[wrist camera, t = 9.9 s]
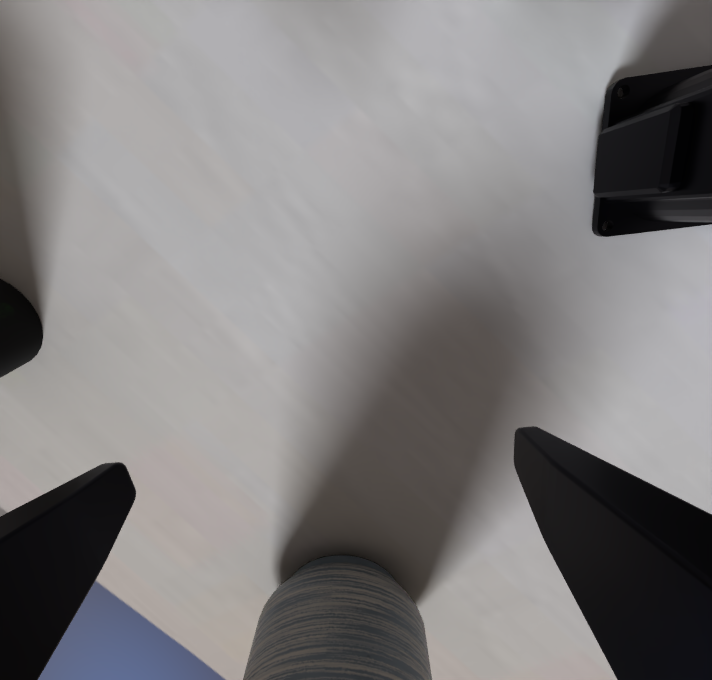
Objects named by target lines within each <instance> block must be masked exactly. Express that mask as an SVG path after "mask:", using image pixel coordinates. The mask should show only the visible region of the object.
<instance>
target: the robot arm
mask: <svg viewBox="0 0 712 680" xmlns="http://www.w3.org/2000/svg"><path fill="white" fill-rule="evenodd" d="M619 88H621V89H622V90H623V97H622V98H619V97H618V94H617V92H618V89H619ZM593 193H594V194H595V204H594V214H593V223H592V231H593V233H594V234H595V235H597V236H604V237H609V236H617V235H625V234H634V233H642V232H651V231H659V230H667V229H676V228H684V227H692V226H701V225H709V224H712V65H710V66H703V67H696V68H689V69H683V70H676V71H669V72H662V73H655V74H648V75H642V76H635V77H628V78H624V79H621V80H619V81H617V82H615V83H613V84H612V85H611V86H610V87H609V89H608V90H607V92H606V96H605V105H604V115H603V125H602V133H601V134H600V135H599V139H598V149H597V159H596V169H595V179H594V189H593ZM606 221H607V222H608V227H607V229H606V230H603V227H602V226H603V224H604V223H605V222H606ZM514 465H515V469H516V472H517V475H518V477H519V479H520V482H521V484H522V487H523V489H524V492H525V494H526V497H527V499H528V502H529V504H530V507H531V509H532V512H533V514H534V517H535V519H536V522H537V524H538V527H539V529H540V531H541V534H542V536H543V538H544V541H545V543H546V545H547V547H548V549H549V551H550V553H551V554H552V556H553V558H554V560H555V562H556V564H557V566H558V568H559V570H560V571H561V573H562V575H563V577H564V579H565V581H566V583H567V585H568V587H569V589H570V590H571V592H572V594H573V596H574V598H575V600H576V602H577V604H578V606H579V607H580V609H581V611H582V613H583V615H584V617H585V619H586V621H587V623H588V625H589V626H590V628H591V630H592V632H593V634H594V636H595V638H596V640H597V642H598V643H599V645H600V647H601V649H602V651H603V653H604V655H605V657H606V659H607V661H608V662H609V664H610V666H611V668H612V670H613V672H614V674H615V676H616V678H617V680H712V514H710V513H708V512H706V511H704V510H702V509H700V508H698V507H696V506H694V505H692V504H690V503H688V502H686V501H684V500H682V499H680V498H678V497H676V496H674V495H672V494H670V493H668V492H666V491H664V490H662V489H660V488H658V487H656V486H654V485H652V484H650V483H648V482H646V481H644V480H642V479H640V478H638V477H636V476H634V475H632V474H630V473H628V472H626V471H624V470H622V469H620V468H618V467H616V466H614V465H612V464H610V463H608V462H606V461H604V460H602V459H600V458H598V457H596V456H594V455H592V454H590V453H588V452H586V451H584V450H582V449H580V448H578V447H576V446H574V445H572V444H570V443H568V442H566V441H564V440H562V439H560V438H558V437H556V436H554V435H552V434H550V433H548V432H546V431H544V430H542V429H540V428H538V427H523V428H518V429H517V430H516V431H515V439H514ZM135 497H136V490H135V487H134V484H133V482H132V480H131V477H130V475H129V472H128V470H127V468H126V466H125V465H124V464H123V463H120V462H116V463H105V464H102V465H99V466H97V467H96V468H94V469H92V470H90V471H88V472H86V473H84V474H82V475H80V476H78V477H76V478H74V479H72V480H70V481H68V482H66V483H65V484H63V485H61V486H59V487H57V488H55V489H53V490H51V491H49V492H47V493H45V494H43V495H41V496H39V497H37V498H36V499H34V500H32V501H30V502H28V503H26V504H24V505H22V506H20V507H18V508H16V509H14V510H12V511H10V512H8V513H6V514H5V515H3V516H1V517H0V680H38V678H39V677H40V675H41V673H42V671H43V670H44V668H45V666H46V664H47V663H48V661H49V659H50V657H51V656H52V654H53V652H54V651H55V649H56V647H57V646H58V644H59V642H60V640H61V639H62V637H63V635H64V633H65V631H66V630H67V628H68V626H69V625H70V623H71V621H72V620H73V618H74V616H75V614H76V613H77V611H78V609H79V608H80V606H81V604H82V602H83V600H84V599H85V597H86V595H87V594H88V592H89V590H90V588H91V587H92V585H93V583H94V582H95V580H96V578H97V576H98V575H99V573H100V571H101V569H102V567H103V565H104V563H105V561H106V559H107V557H108V555H109V553H110V551H111V549H112V547H113V545H114V543H115V541H116V538H117V536H118V534H119V532H120V530H121V528H122V526H123V524H124V522H125V520H126V518H127V515H128V513H129V511H130V509H131V507H132V505H133V503H134V500H135Z"/></svg>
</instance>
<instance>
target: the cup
mask: <svg viewBox="0 0 712 680" xmlns="http://www.w3.org/2000/svg"><path fill="white" fill-rule="evenodd" d="M42 339H43V334H42V326H41V323H40V320H39V317H38V315H37V313H36V311H35V310H34V308H33V306H32V305H31V303H30V302H29V301H28V300H27V299H26V298H25V297H24V295H23V294H22V293H21V292H19V291H18V290H17V289H15V288H14V287H13V286H12V285H10V284H8V283H7V282H5V281H3V280H1V279H0V377H2V376H4V375H6V374H8V373H9V372H11V371H13V370H15V369H16V368H18V367H20V366H22V365H24V364H25V363H27V362H29V361H30V360H32V359H33V358H34V357H35V356H36V355H37V353H38V351H39V350H40V348H41V344H42Z"/></svg>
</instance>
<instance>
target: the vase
mask: <svg viewBox="0 0 712 680" xmlns="http://www.w3.org/2000/svg"><path fill="white" fill-rule="evenodd" d="M243 680H432V676H431V669H430V662H429V655H428V648H427V642H426V635H425V628H424V623H423V620H422V617H421V615H420V613H419V610H418V608H417V606H416V604H415V603H414V602H413V600H412V599H411V597H410V596H409V595H408V593H407V592H406V591H405V590H404V589H403V588H402V587H401V586H400V585H399V584H398V583H397V582H396V581H395V580H394V578H393V577H392V576H391V574H389V573H388V572H387V571H386V570H385V569H384V568H382V567H381V566H379V565H378V564H376V563H374V562H372V561H369V560H367V559H363V558H360V557H355V556H349V555H335V556H327V557H323V558H319V559H316V560H314V561H311V562H309V563H307V564H306V565H304V566H302V567H301V568H300V569H299V570H298V571H297V572H295V574H294V575H293V576H292V577H290V578H289V579H287V580H286V581H285V582H284V583H283V584H282V585H280V586H279V587H278V588H277V589H276V590H275V592H274V593H273V594H272V596H271V597H270V598H269V600H268V601H267V603H266V604H265V606H264V608H263V611H262V613H261V615H260V618H259V621H258V625H257V628H256V632H255V636H254V640H253V644H252V647H251V651H250V655H249V659H248V663H247V666H246V670H245V674H244V678H243Z"/></svg>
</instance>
